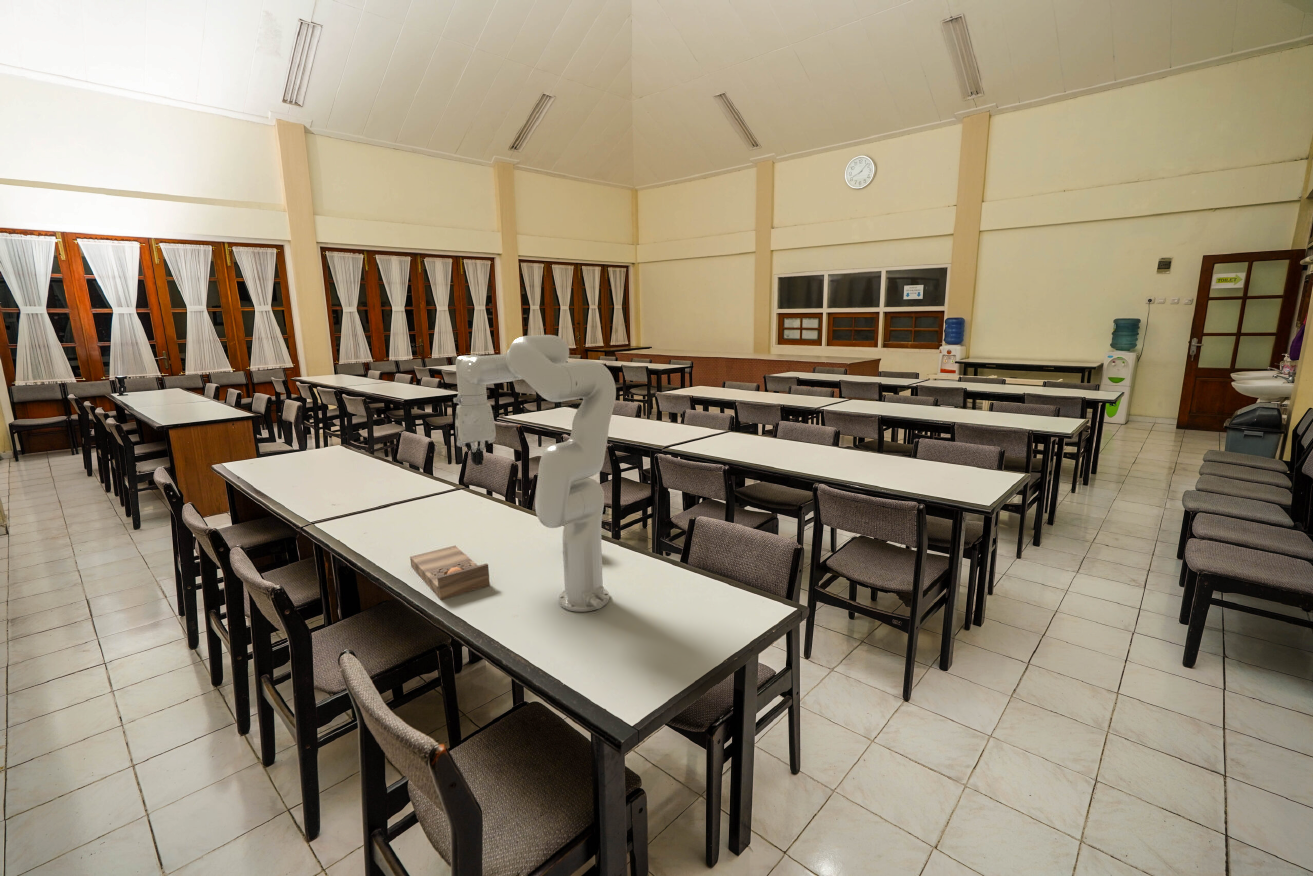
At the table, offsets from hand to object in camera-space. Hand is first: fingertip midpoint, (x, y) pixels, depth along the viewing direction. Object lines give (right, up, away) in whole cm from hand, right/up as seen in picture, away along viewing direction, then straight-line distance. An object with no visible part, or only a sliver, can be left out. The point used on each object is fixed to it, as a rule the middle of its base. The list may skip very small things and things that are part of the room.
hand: (477, 464), depth 169 cm
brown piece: (-7, -31, -4) cm, 32 cm away
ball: (-3, -30, -9) cm, 31 cm away
